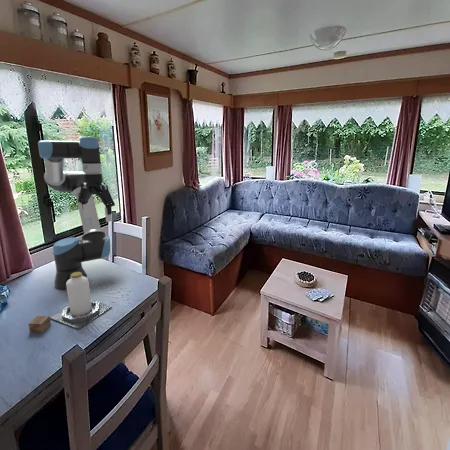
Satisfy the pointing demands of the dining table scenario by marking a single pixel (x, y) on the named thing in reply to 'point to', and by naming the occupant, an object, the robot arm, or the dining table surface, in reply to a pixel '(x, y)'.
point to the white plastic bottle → (78, 294)
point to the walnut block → (39, 324)
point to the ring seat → (83, 320)
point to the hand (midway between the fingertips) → (97, 219)
